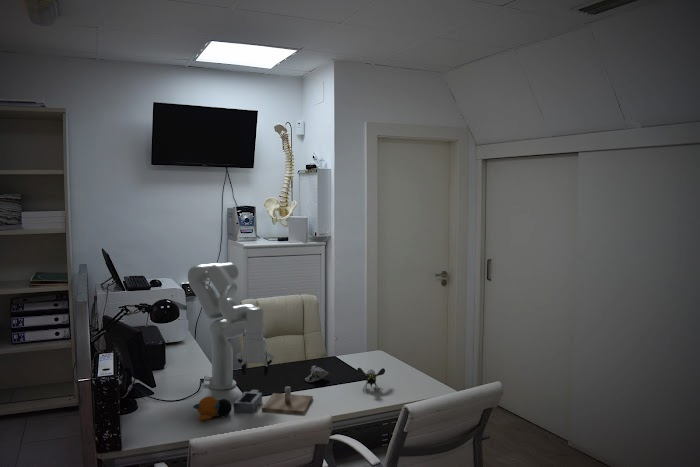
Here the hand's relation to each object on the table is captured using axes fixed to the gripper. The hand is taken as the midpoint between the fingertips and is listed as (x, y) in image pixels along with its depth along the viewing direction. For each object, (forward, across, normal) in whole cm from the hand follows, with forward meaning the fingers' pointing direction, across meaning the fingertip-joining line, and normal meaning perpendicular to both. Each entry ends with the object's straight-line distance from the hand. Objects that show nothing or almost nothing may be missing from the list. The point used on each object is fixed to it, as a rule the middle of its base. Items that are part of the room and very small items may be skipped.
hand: (255, 374), depth 248 cm
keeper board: (+12, +15, -2) cm, 20 cm away
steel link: (+12, -1, -6) cm, 13 cm away
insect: (+13, +48, +23) cm, 55 cm away
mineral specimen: (+12, +21, +30) cm, 39 cm away
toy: (+12, -12, -21) cm, 27 cm away
